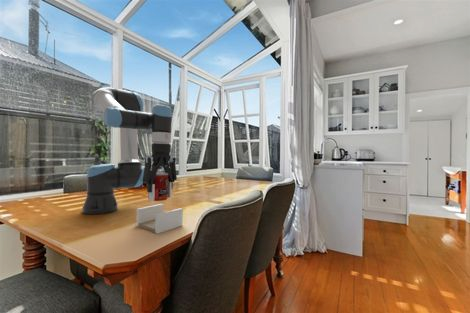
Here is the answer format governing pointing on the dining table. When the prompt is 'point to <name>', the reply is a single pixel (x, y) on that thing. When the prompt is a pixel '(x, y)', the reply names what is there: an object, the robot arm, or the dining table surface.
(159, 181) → the canned food
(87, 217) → the dining table surface
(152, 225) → the holder
